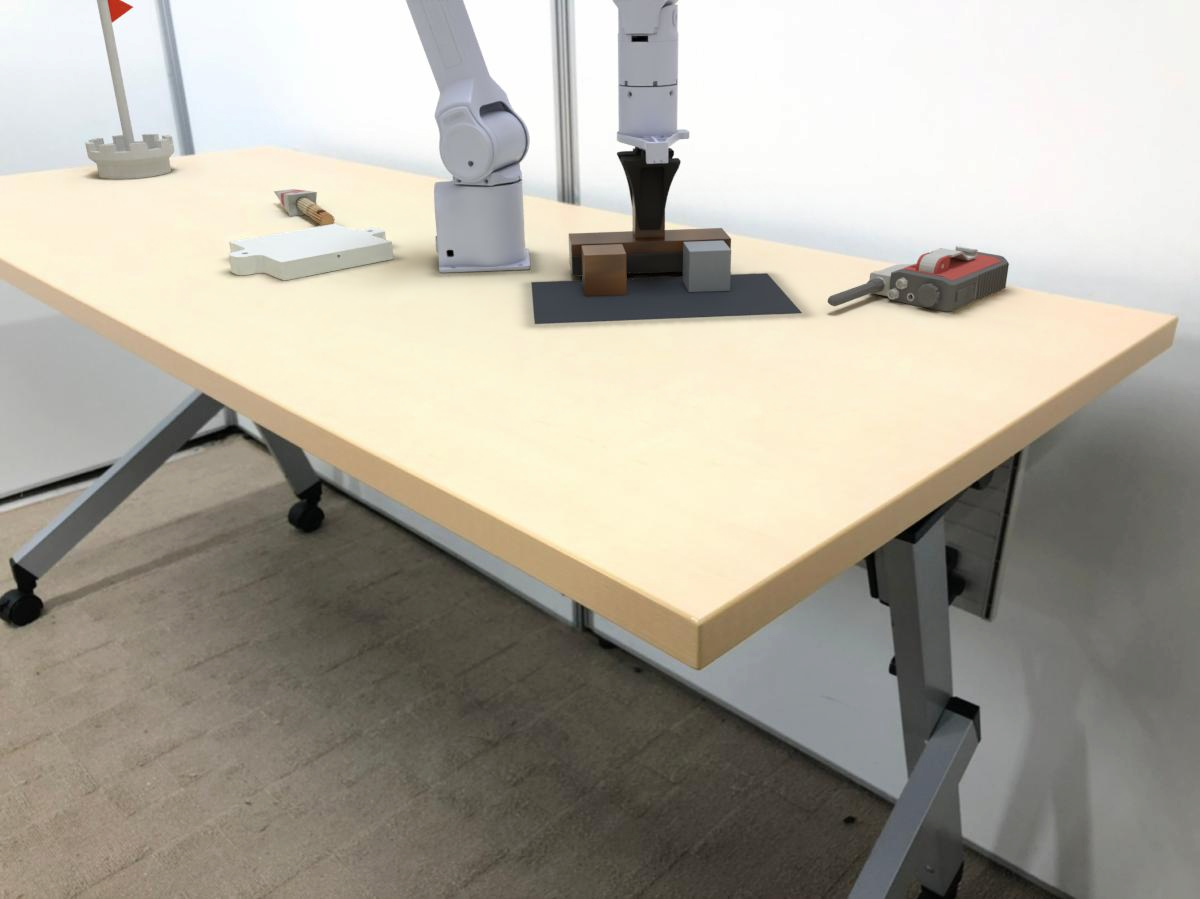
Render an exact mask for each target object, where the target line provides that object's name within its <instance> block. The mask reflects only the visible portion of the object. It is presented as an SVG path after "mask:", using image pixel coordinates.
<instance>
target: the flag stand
mask: <svg viewBox="0 0 1200 899" xmlns="http://www.w3.org/2000/svg"><path fill="white" fill-rule="evenodd" d="M96 3H97V8H98V14H99V18H100V25H101V29H102V35H103V40H104V45H105V50H106V55H107V60H108V66H109V70H110V76H111V81H112V85H113V86H112V87H113V91H114V97H115V102H116V106H117V111H118V117H119V122H120V128H121V132H122V134H118V135H112V136H111V138H112V143H105V141H104V138H103V137H95V138H91V139H88V141H86V142H84V145H85V149H86V154H87V158H88V159H89V160H91V161H92V162H93V163H94V164H95V165H96V167H97V173H98V177H99V178H102V179H108V180H131V179H141V178H142V179H144V178H151V177H158V176H162V175H166V174H169V173H170V172H172V168H171V162H170V158H171V157H172V156H173V154H175V146H174V140H173V136H172V135H170V134H163V135H161V138H160V135H159V133H143V134H141V137H142V140H135V137H134V133H133V132H134V131H133V127H132V121H131V116H130V111H129V106H128V101H127V96H126V90H125V85H124V79H123V75H122V74H123V73H122V68H121V64H120V59H119V54H118V49H117V43H116V37H115V33H114V28H113V23H114V22H115V21H117V20H118V19H120V18H121V17H122V16H124V15H125V14H127V13H128V12H129V11H130V10H132V9H133V8H134V6H133V5H131V4H129V3H126V2H125V1H123V0H96Z"/></svg>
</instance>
